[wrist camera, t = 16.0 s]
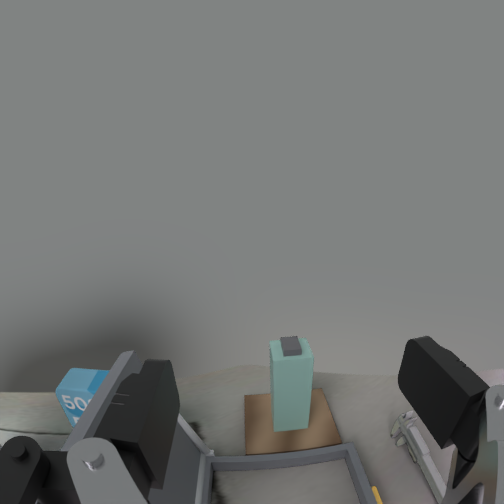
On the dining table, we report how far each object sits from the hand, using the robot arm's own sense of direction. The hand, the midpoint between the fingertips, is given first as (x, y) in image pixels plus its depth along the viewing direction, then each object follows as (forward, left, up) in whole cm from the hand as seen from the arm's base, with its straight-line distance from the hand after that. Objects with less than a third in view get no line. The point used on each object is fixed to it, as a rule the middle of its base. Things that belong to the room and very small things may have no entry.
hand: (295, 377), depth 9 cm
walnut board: (+3, +21, -25) cm, 33 cm away
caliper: (+17, +5, -26) cm, 31 cm away
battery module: (+3, +21, -24) cm, 32 cm away
